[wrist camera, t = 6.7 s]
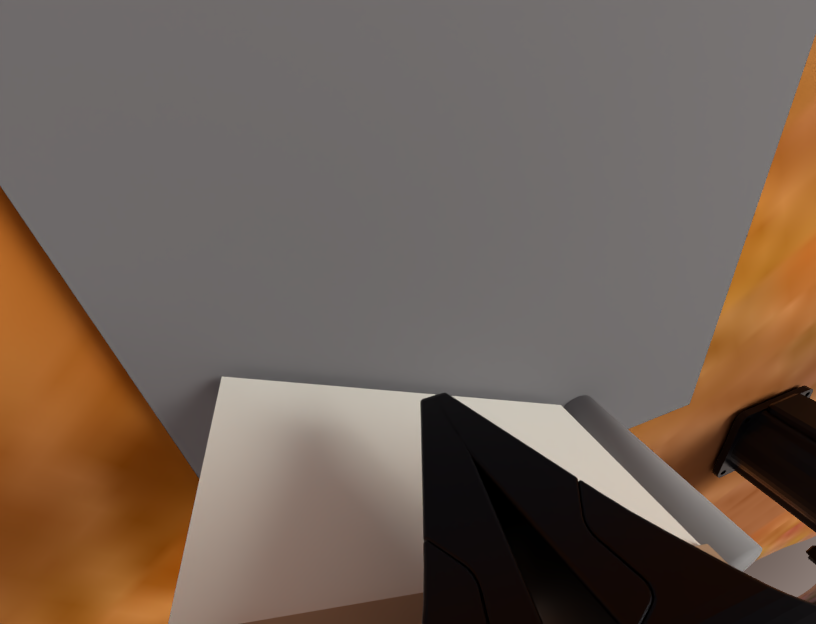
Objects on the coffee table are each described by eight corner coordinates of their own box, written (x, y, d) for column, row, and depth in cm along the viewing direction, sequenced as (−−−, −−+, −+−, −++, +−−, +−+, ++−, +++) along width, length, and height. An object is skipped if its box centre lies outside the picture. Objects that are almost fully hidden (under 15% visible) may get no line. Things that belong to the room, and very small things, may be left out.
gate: (562, 401, 17) (735, 571, 10) (546, 428, 17) (701, 605, 11) (222, 370, 11) (147, 712, 5) (215, 413, 11) (139, 769, 5)
